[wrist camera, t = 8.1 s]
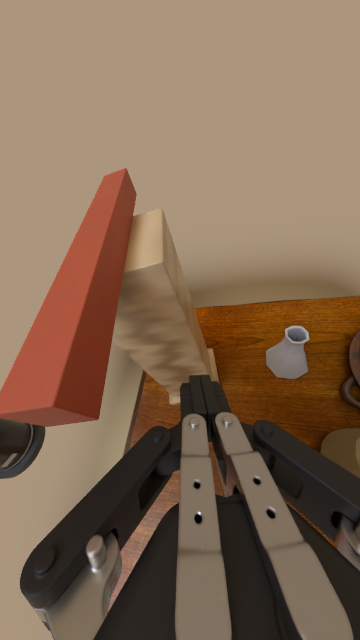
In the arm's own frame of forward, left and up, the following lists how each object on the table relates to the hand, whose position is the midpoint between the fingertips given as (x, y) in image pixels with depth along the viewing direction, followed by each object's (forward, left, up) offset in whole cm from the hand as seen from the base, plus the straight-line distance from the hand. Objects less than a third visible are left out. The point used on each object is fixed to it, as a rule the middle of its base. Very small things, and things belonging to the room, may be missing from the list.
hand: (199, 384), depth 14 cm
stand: (-4, +10, -24) cm, 26 cm away
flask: (+14, +10, -24) cm, 30 cm away
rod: (-4, +8, +7) cm, 11 cm away
